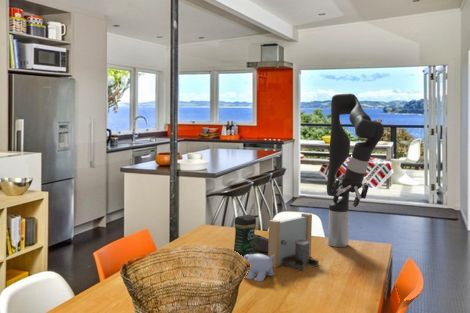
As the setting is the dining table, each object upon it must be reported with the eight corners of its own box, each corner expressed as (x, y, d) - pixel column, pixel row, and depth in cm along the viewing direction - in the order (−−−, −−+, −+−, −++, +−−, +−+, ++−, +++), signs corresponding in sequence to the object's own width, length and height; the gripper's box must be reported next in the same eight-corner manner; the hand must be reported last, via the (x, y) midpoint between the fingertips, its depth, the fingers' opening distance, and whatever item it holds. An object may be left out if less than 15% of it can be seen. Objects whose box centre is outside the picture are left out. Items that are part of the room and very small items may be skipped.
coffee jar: (244, 260, 199) (244, 218, 197) (230, 256, 204) (231, 215, 202) (258, 256, 206) (259, 215, 204) (245, 252, 211) (245, 212, 209)
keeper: (299, 259, 201) (300, 252, 201) (318, 265, 194) (318, 258, 194) (282, 265, 194) (282, 258, 193) (301, 271, 186) (301, 263, 186)
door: (303, 254, 209) (304, 213, 208) (311, 256, 206) (313, 214, 204) (268, 264, 193) (269, 220, 192) (276, 267, 190) (277, 222, 188)
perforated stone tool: (279, 254, 209) (279, 239, 208) (271, 256, 206) (271, 241, 205) (255, 247, 220) (256, 232, 220) (247, 249, 217) (248, 234, 216)
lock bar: (300, 262, 196) (301, 239, 196) (309, 264, 193) (309, 241, 193) (294, 264, 193) (295, 241, 193) (302, 267, 190) (303, 243, 189)
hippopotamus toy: (248, 268, 189) (248, 245, 188) (280, 275, 181) (280, 252, 180) (233, 275, 181) (233, 251, 180) (265, 283, 172) (266, 258, 171)
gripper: (369, 167, 187) (357, 203, 193) (337, 162, 185) (325, 197, 191) (376, 175, 180) (363, 211, 186) (342, 169, 178) (330, 206, 184)
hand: (344, 204), depth 188 cm, fingers open, 8 cm apart
